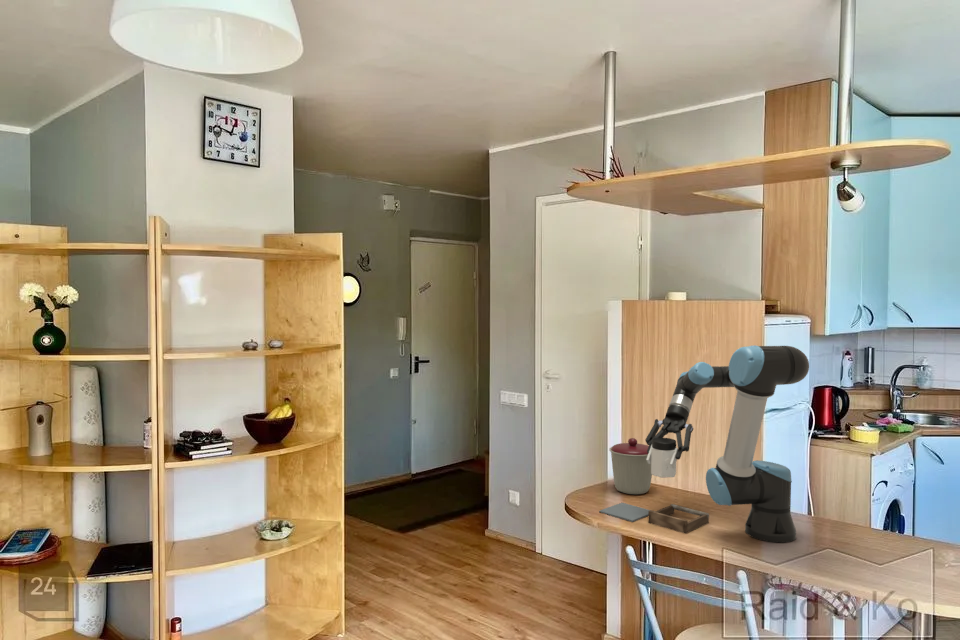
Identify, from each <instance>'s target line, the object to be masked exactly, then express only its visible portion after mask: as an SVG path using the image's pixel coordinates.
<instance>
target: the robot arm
mask: <svg viewBox="0 0 960 640" xmlns="http://www.w3.org/2000/svg"><path fill="white" fill-rule="evenodd" d="M809 370H810V362H809V359H808V357H807V356H806V354H805V353H804V352H803V351H802V350H800V349H799V348H797V347H794V346H789V345H754V344H753V345H749V346H741V347H739V348H737V349H736V350H735V351H734V352H733V353H732V355H731V357H730V359H729V363H728V365H727V366H726V365H725V366H724V365H723V366H719V365H717V366H713V365H711V364H710V363H707V362H705V361H699V362H696V363H695V364H694V365H693V366H691V367H690V368H689V370H688V371H683V372H682V373H681V374H680V376H679V378H678V379H677V382H676V385H675V387H674V392H673V394H672V396H671V400H670V402H669V404H668V407H667V410H666V413H665V416H664V418H663V419H662V420H659V419H658V418H656V419H654V424H653V425H652V428H651V429H650V431H649V433H648V435H647V436H646V438H645V443H646V445H648V446H649V447H648V450H647V453H648V456H647V459H646V460H647V462H648V464H651V448H652V439H654V438H665V436H666V435H668V434H669V433H670V434H671V433H672V434H675V435H676V445H677V447H676V448H675V453H674V454H673V456H672V459H671V462H670V465H671V467H672V468H674V467H675V464H676V465H677V461H678V460H680V459H681V457H682V454H683V453H684V452H686V453H687V452H689V451H690V445H691V438H692V433H693V431H694V426H693V425H692V423H688V424H687V422H688V419H689V416H690V413H691V410H692V408H693V407H692V406H693V403H694V401H695V398H696V396H697V394H698V393H699V392H700V391H701V390H702V389H704V388H705V389H706V388H712V389H713V388H734V389H735V391H737V392H736V396H735V401H734V406H733V411H732V415H731V421H730V425H729V429H728V434H727V437H726V438H727V439H726V443H725V447H724V452H723V456H720V457H719V458H718V459H717V461H716V464H715V467H710V468H708V469H707V471H706V474H705V485H706V488H707V492H708V493H709V496H710V498H711V500H712V501H713V502H714V503H715V504H716V505H719V506H729V507H730V506H735V505H737V506H739V505H740V506H741V505H751V508H750V511H749V513H748V516H747V520H746V522H745V525H744V526H745V528H744V532H745V533H746V535H748V536H749V537H751V538H754V539H757V540H761V541H763V542H765V541H766V542H770V543H791V542H793V541H795V540H796V539H797V530H796V527H795V524H794V523H795V522H794V520H793V516H792V514H791V507H792V506H791V504H792V501H791V500H792V498H791V497H792V483H793V482H792V481H793V480H792V473H791V469H790V468H788V467H787V466H786V465H784V464H779V463H776V462H773V461H772V462H771V461H766V460H754V457H755V451H756V448H757V444H758V439H759V436H760V432H761V427H762V423H763V419H764V414H765V410H766V406H767V401H768V399H769V398H771V397H773V396H774V394H775V392H776V388H777V386H781V385H793V384H797V383H799V382H801V381H802V380H804V379H806V376H807V375H808V373H809ZM684 429H685V435H684V441H683V439H682V431H683V430H684ZM790 541H791V542H790Z"/></svg>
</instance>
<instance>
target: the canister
mask: <svg viewBox="0 0 960 640" xmlns="http://www.w3.org/2000/svg"><path fill="white" fill-rule="evenodd" d="M648 447H649V445H647V444H642V443H638V439H637V438H636V437H631V438H629V439H628V441H627V442H623V443H617V444H614V445H612V446H610V447H609V450H608V451H609V452H610V454H611V455H610V456H611V466H612V475H613V483H614V487H615V488H616V490H617V491H618V492H621V493H622V494H628V495H643V494H645V493H647V492H649V490H650V488H651V483H652V476H653V475H651V464H648V462H647V460H646V459H647V456H648V453H647V450H648Z"/></svg>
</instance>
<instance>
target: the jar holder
mask: <svg viewBox="0 0 960 640" xmlns="http://www.w3.org/2000/svg"><path fill="white" fill-rule="evenodd" d="M675 510H676V511H679V512H683V513H688V514H691V515H695V516H697V517H695V518H693V519H691V520H689V521H688V520H686V519H683V518H678V517H675V516H672V515H675ZM654 511H655V512H654ZM647 519H648V524H652V525H655V526H659V527H662V528H666V529H669V530H672V531H676V532H679V533H682V534H688V533H690V532H692V531H694V529H695V530H696V528H697V529H699V528H700V527H702V526H706V525H707V524H709V521H710V520H709V519H710V513H709V512H705V511H700V510H697V509H692V508H688V507H685V506H681V505H677V504H674V503H670V505H668V506H666V507H663V508H660V509H657V510H651V511H649V516H648V518H647Z"/></svg>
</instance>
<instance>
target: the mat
mask: <svg viewBox="0 0 960 640" xmlns="http://www.w3.org/2000/svg"><path fill="white" fill-rule="evenodd" d="M649 511H652V510H650V509H647V508H644V507H640V506H638V505H637V506H636V505H632V504H630V503H629V504H628V503H626V502H619V503H617V504H614V505H611V506H608V507H606V508H603V509H600V510H598V512H599V513H600V512H601V513H600V514H603V513H605V514H604V515H606V514H608V515H607V516H610V515H611V516H610V517H614V518H617V519H621V520H624V521H627V522H631V523H634V522H636V521H639V520H642V519H644V518H646V517H647V518H648V517H649ZM653 511H654V512H655V511H656V510H653Z"/></svg>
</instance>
